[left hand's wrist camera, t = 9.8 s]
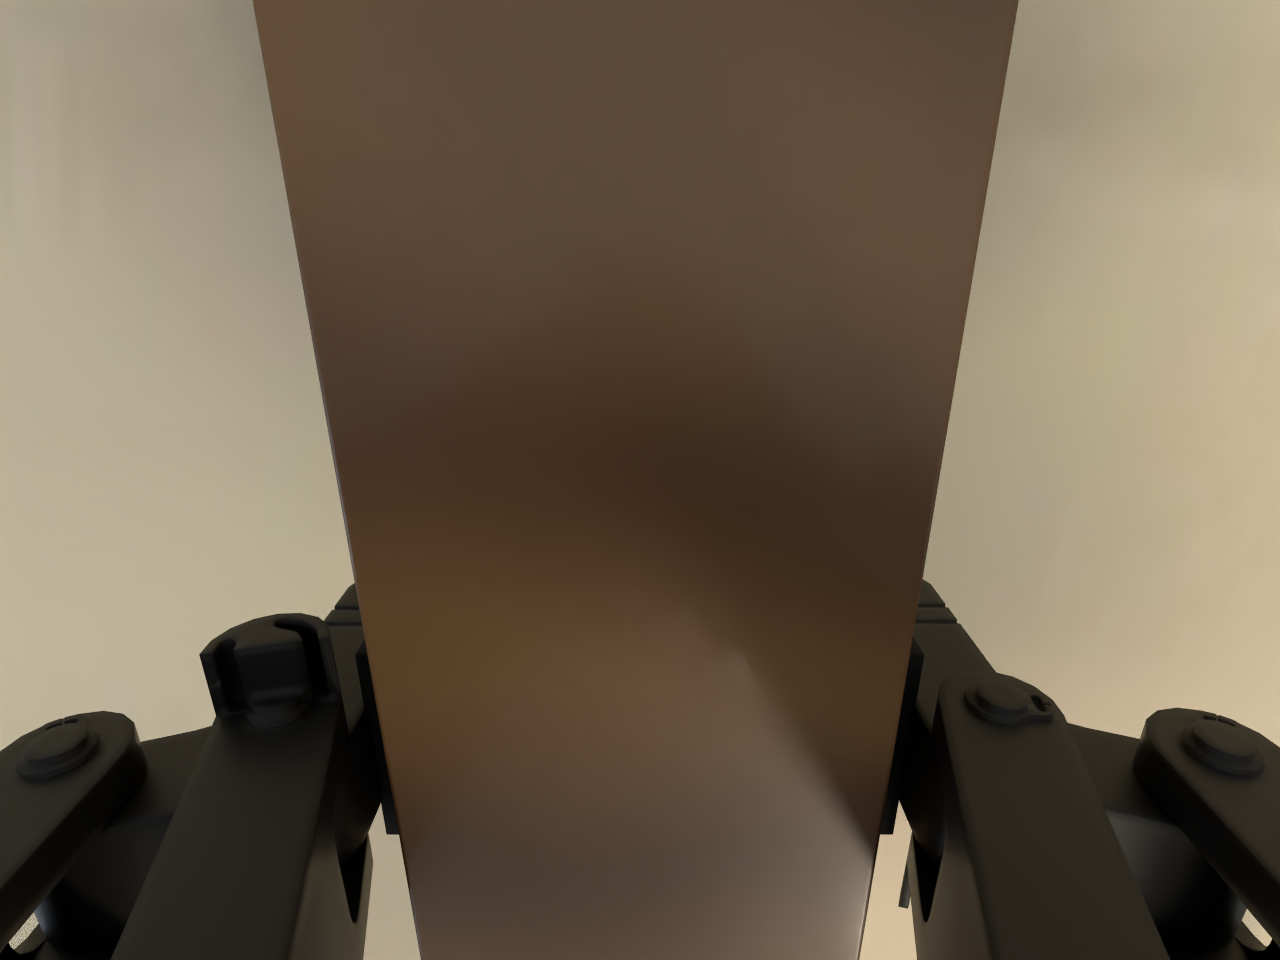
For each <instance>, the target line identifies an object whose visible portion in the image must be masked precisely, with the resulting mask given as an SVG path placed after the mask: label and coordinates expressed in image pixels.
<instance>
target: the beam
mask: <svg viewBox="0 0 1280 960" xmlns="http://www.w3.org/2000/svg"><path fill="white" fill-rule="evenodd" d="M253 4H254V10H255V16H256V21H257V27H258V33H259V38H260V44H261V50H262V56H263V61H264V67H265V73H266V78H267V84H268V90H269V95H270V101H271V107H272V113H273V118H274V124H275V130H276V135H277V141H278V147H279V152H280V158H281V164H282V170H283V175H284V181H285V187H286V192H287V198H288V204H289V209H290V215H291V221H292V227H293V232H294V238H295V244H296V249H297V255H298V261H299V266H300V272H301V278H302V284H303V289H304V295H305V301H306V306H307V312H308V318H309V324H310V329H311V335H312V341H313V346H314V352H315V358H316V363H317V369H318V375H319V381H320V386H321V392H322V398H323V403H324V409H325V415H326V420H327V426H328V432H329V438H330V443H331V449H332V455H333V460H334V466H335V472H336V477H337V483H338V489H339V495H340V500H341V506H342V512H343V517H344V523H345V529H346V534H347V540H348V546H349V552H350V557H351V563H352V569H353V574H354V580H355V586H356V591H357V597H358V603H359V609H360V614H361V620H362V626H363V631H364V637H365V643H366V648H367V654H368V660H369V666H370V671H371V677H372V683H373V688H374V694H375V700H376V706H377V711H378V717H379V723H380V728H381V734H382V740H383V745H384V751H385V757H386V763H387V768H388V774H389V780H390V785H391V791H392V797H393V802H394V808H395V814H396V820H397V825H398V831H399V837H400V842H401V848H402V854H403V859H404V865H405V871H406V877H407V882H408V888H409V894H410V899H411V905H412V911H413V916H414V922H415V928H416V934H417V939H418V945H419V951H420V956H421V960H859V957H860V951H861V945H862V939H863V933H864V927H865V921H866V915H867V909H868V903H869V897H870V891H871V885H872V879H873V873H874V867H875V861H876V855H877V849H878V843H879V837H880V831H881V825H882V819H883V813H884V807H885V801H886V795H887V789H888V783H889V777H890V771H891V765H892V759H893V753H894V747H895V741H896V735H897V729H898V723H899V717H900V711H901V704H902V698H903V692H904V686H905V680H906V674H907V668H908V662H909V656H910V650H911V644H912V638H913V632H914V626H915V620H916V614H917V608H918V602H919V596H920V590H921V584H922V578H923V572H924V566H925V560H926V554H927V548H928V542H929V536H930V530H931V524H932V518H933V512H934V506H935V500H936V494H937V488H938V482H939V476H940V470H941V464H942V458H943V452H944V446H945V440H946V434H947V428H948V422H949V416H950V410H951V403H952V397H953V391H954V385H955V379H956V373H957V367H958V361H959V355H960V349H961V343H962V337H963V331H964V325H965V319H966V313H967V307H968V301H969V295H970V289H971V283H972V277H973V271H974V265H975V259H976V253H977V247H978V241H979V235H980V229H981V223H982V217H983V211H984V205H985V199H986V193H987V187H988V181H989V175H990V169H991V163H992V157H993V151H994V145H995V139H996V133H997V127H998V121H999V115H1000V109H1001V102H1002V96H1003V90H1004V84H1005V78H1006V72H1007V66H1008V60H1009V54H1010V48H1011V42H1012V36H1013V30H1014V24H1015V18H1016V12H1017V6H1018V0H253Z"/></svg>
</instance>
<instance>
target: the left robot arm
mask: <svg viewBox="0 0 1280 960" xmlns="http://www.w3.org/2000/svg"><path fill="white" fill-rule="evenodd" d="M199 655H200V658H201V662H202V666H203V669H204V673H205V677H206V680H207V684H208V688H209V691H210V695H211V699H212V702H213V706H214V710H215V713H216V718H215V720H214V722H213V725H212V726H210V727H206V728H203V729H199V730H196V731H191V732H186V733H181V734H177V735H172V736H167V737H162V738H158V739H153V740H148V741H143V742H140V739H139V736H138V733H137V730H136V727H135V724H134V722H133V721H131V720H130V719H129V718H128V717H126V716H125V715H124V714H121V713H114V712H107V711H99V712H91V713H83V714H77V715H73V716H68V717H65V718H64V719H58V720H55V721H52V722H50V723H47V724H45V725H44V726H42V727H40V728H38V729H36V730H34V731H32V732H30V733H28V734H25V735H23V736H21V737H20V738H18V739H17V740H16V741H14V742H13V743H11V744H10V745H9V746H7V747H6V748H4V749H3V750H2V751H0V960H363V954H364V945H365V935H366V926H367V916H368V907H369V897H370V887H371V878H372V868H373V858H372V852H371V845H370V840H369V835H368V832H369V829H370V827H371V824H372V822H373V820H374V817H375V815H376V813H377V810H378V808H379V806H380V803H381V805H382V811H383V816H384V822H385V827H386V833H387V834H399V831H398V825H397V820H396V814H395V808H394V802H393V797H392V791H391V785H390V780H389V774H388V768H387V763H386V757H385V751H384V745H383V740H382V734H381V728H380V723H379V717H378V711H377V706H376V700H375V694H374V688H373V683H372V677H371V671H370V666H369V660H368V654H367V648H366V643H365V637H364V631H363V626H362V620H361V614H360V609H359V603H358V597H357V591H356V586H355V583H354V584H353V585H351V586H350V587H349V588H348V589H347V590H346V592H345V593H344V594H343V596H342V597H341V598H340V600H339V601H338V603H337V604H336V605H335V610H332V611H331V612H330V613H329V615H328V616H327V617H326V619H325V620H324V621H322V620H321V619H320V618H319V617H315V616H311V615H306V614H302V613H290V614H275V615H271V616H266V617H261V618H257V619H253V620H250V621H248V622H245V623H243V624H240V625H238V626H235V627H233V628H230V629H229V630H227V631H226V632H224V633H223V634H221V635H219V636H218V637H216V638H215V639H213V640H212V641H211V642H210V643H209V644H208V645H207V646H206V647H205V649H204V650H203V651H202V652H201V653H200V654H199ZM899 801H900V803H901V806H902V808H903V810H904V813H905V815H906V817H907V820H908V822H909V824H910V827H911V829H912V835H911V840H910V845H909V851H908V856H907V861H906V866H905V872H904V877H903V882H902V887H901V893H900V900H899V906H898V907H903V908H908V906H909V901H910V896H911V905H912V914H913V924H914V933H915V943H916V952H917V960H1280V747H1278V746H1277V745H1275V744H1274V743H1273V742H1271V741H1270V740H1268V739H1267V738H1266V737H1264V736H1263V735H1261V734H1260V733H1258V732H1256V731H1254V730H1252V729H1250V728H1248V727H1245V726H1243V725H1241V724H1239V723H1237V722H1236V721H1234V720H1232V719H1229V718H1226V717H1223V716H1221V715H1219V716H1218V715H1216V714H1213V713H1209V712H1205V711H1200V710H1191V709H1183V708H1172V709H1165V710H1158V711H1156V712H1155V713H1154V714H1152V715H1151V716H1150V717H1149V718H1147V719H1146V722H1145V725H1144V728H1143V731H1142V734H1141V737H1140V739H1137V738H1132V737H1128V736H1123V735H1118V734H1113V733H1108V732H1104V731H1099V730H1094V729H1089V728H1085V727H1081V726H1077V725H1074V724H1070V723H1067V721H1066V719H1065V717H1064V715H1063V713H1062V712H1061V711H1060V709H1059V708H1058V706H1057V705H1056V704H1055V702H1054V701H1053V700H1052V699H1051V698H1049V697H1048V696H1047V695H1045V694H1044V693H1043V692H1041V691H1040V690H1038V689H1037V688H1036V687H1034V686H1032V685H1030V684H1028V683H1025V682H1023V681H1021V680H1019V679H1017V678H1014V677H1012V676H1008V675H1004V674H1000V673H996V672H995V670H994V669H993V668H992V666H991V665H990V664H989V662H988V661H987V660H986V658H985V657H984V656H983V654H982V653H981V651H980V650H979V649H978V647H977V646H976V645H975V643H974V642H973V641H972V639H971V638H970V637H969V635H968V634H967V633H966V631H965V630H964V629H963V627H962V626H961V624H957V619H956V618H955V616H954V615H953V614H952V612H951V611H950V610H949V608H945V603H944V602H943V600H942V599H941V597H940V596H939V595H938V593H937V592H936V591H935V589H934V588H933V587H932V585H931V584H929V583H928V582H926V581H925V580H923V579H922V584H921V590H920V596H919V602H918V608H917V614H916V620H915V626H914V632H913V638H912V644H911V650H910V656H909V662H908V668H907V674H906V680H905V686H904V692H903V698H902V704H901V711H900V717H899V723H898V729H897V735H896V741H895V747H894V753H893V759H892V765H891V771H890V777H889V783H888V789H887V795H886V801H885V807H884V813H883V819H882V825H881V831H880V834H893V830H894V825H895V819H896V813H897V808H898V802H899ZM1246 909H1248V910H1249V911H1250V912H1251V914H1252V915H1253V916H1254V917H1255V918H1256V919H1257V921H1258V922H1259V923H1260V924H1261V925H1262V927H1263V928H1264V929H1265V930H1266V931H1267V933H1268V934H1269V935H1270V936H1271V937H1272V941H1271V943H1270V945H1269V946H1268V947H1266V946H1264V945H1263V944H1262V943H1261V942H1260V941H1259V940H1258V939H1257V938H1256V937H1255V936H1254V935H1253V934H1252V933H1251V931H1250V930H1249V929H1248V928H1247V926H1246V925H1245V924H1244V923H1243V922H1242V918H1243V916H1244V914H1245V912H1246ZM33 912H34V913H35V916H36V918H37V920H38V922H39V924H38V925H37V926H36V928H35V929H34V930H33V931H32V933H31V934H30V935H29V936H28V938H27V939H25V940H24V941H23V942H22V943H21V944H20V945H19V946H18V947H17V948H15V949H12V948H11V946H10V944H9V941H10V940H11V939H12V937H13V936H14V935H15V934H16V933H17V931H18V930H19V929H20V928H21V927H22V925H23V924H24V923H25V922H26V921H27V919H28V918H29V917H30V916H31V915H32V913H33Z"/></svg>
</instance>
